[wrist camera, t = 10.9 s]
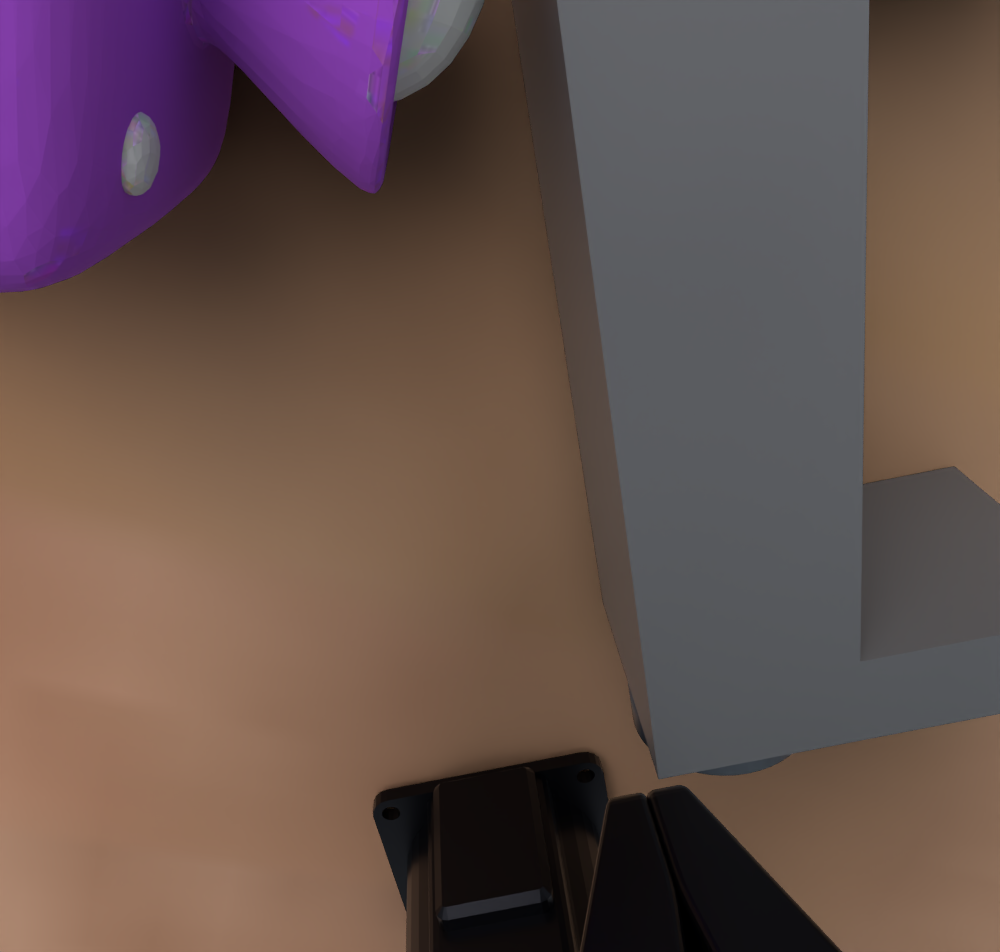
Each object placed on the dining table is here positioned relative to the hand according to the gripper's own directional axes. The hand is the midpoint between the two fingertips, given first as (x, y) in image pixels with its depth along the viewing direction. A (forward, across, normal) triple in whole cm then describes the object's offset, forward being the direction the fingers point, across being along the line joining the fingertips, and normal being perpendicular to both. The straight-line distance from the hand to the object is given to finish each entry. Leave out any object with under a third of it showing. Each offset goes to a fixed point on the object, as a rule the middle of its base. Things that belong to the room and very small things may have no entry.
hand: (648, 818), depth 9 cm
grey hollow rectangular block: (+12, -6, -2) cm, 13 cm away
